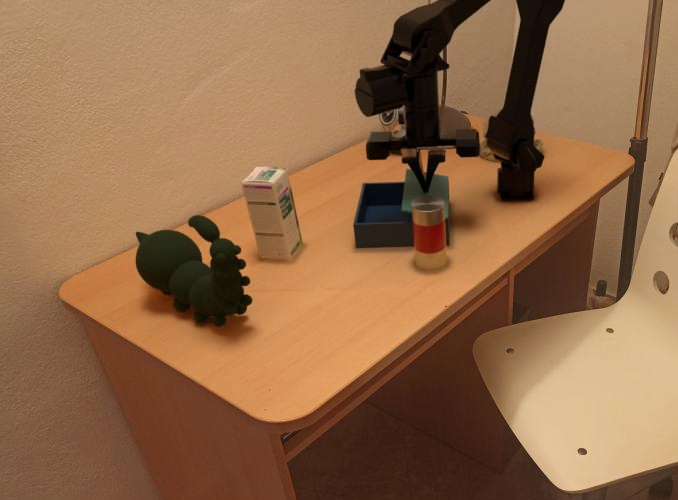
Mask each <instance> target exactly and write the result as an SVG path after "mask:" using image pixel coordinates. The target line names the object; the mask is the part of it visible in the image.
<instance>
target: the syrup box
mask: <svg viewBox="0 0 678 500" xmlns="http://www.w3.org/2000/svg"><path fill="white" fill-rule="evenodd" d="M240 184H241V188H242V192H243V195H244V199H245V203H246V207H247V211H248V216H249V219H250V223H251V227H252V230H253V234H254V238H255V242H256V247H257V250H258V253H259V257H260V259H261V260H264V259H274V260H275V259H277V260H287V261H291V260H292V259H293V257H294V256H295V255H296V254H297V253H298V251H299V250H300V248H301V247H302V246H303V244H304V242H303V238H302V232H301V228H300V224H299V218H298V213H297V209H296V204H295V200H294V199H295V198H294V194H293V189H292V185H291V180H290V175H289V170H288V168H286V167H279V166H255V167H254V170H253V171H251V172H250V173H249V174H248V175H247V176H246V177H245V178H244V179H243V180H242V181H240Z"/></svg>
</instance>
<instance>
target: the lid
mask: <svg viewBox="0 0 678 500" xmlns="http://www.w3.org/2000/svg"><path fill="white" fill-rule="evenodd" d="M424 176H425V181H426V171H424ZM448 181H449V176H448V175H444V174H443V175H442V174H437V173H434V175H433V178H432V181H431V184H430V188H429V191H428V192H427V193H424V192H423V190H422V188H421V186H420V184H419V182H418V180H417V178H416V176H415V174H414V173H413V171H412V170H411V168H406V170H405V176H404V182H405V184H404V192H403V201H402V209H401V211H402V212H408V213H412V208H411V204H412V202H413V201H414V200H415V199H417V198H420V197H425V196H434V197H438V198H441V199H442V200H443V201H444V203H445V219H447V220H448Z"/></svg>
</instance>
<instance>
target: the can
mask: <svg viewBox="0 0 678 500" xmlns="http://www.w3.org/2000/svg"><path fill="white" fill-rule="evenodd" d="M411 208H412V224H413V238H414V247H413V248H414V249H413V250H414V262H415V265H416V267H418V268H419V269H421V270H425V271H435V270H438V269H439V270H440V269H441V268H443V267H445V266H446V264H447V261H448V260H447V259H448V257H447V246H446V226H445V203H444V201H443V200H442V199H441V198H438V197H434V196H425V197H420V198H417V199H415V200H414V201H413V202H412V204H411Z"/></svg>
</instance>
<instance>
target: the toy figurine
mask: <svg viewBox="0 0 678 500" xmlns="http://www.w3.org/2000/svg"><path fill="white" fill-rule="evenodd" d="M187 225H188V227H190V228H193V229H194V230H195V232H196V233H197V234H198V235H199V236H200V237H201V238H202V240H204V241H206V242H208V243H211V244H210V246H209V255H210V257H211V259H210V261H209V265H208V264H206V263H205V262H203V261H204V260H203V255H202V251H201V250H200V247H199V246H198V244H197V243H196V242H195V241H194V240H193V239H192V238H191V237H189V236H188V235H186V234H185V233H184V232H181V231H177V230H173V229H160V230H156V231H153V232H152V233H150V234H149V233H146V232H142V231H135V236H136V239H137V241H138V243H139V245H138V247H137V250H136V253H135V268H136V270H137V272H138V275H139V277H140V278H141V279H142V280H143V281H144V282H145V283H146V284H147V285H148V286H149V287H151V288H153V289H155V290H157V291H159V292H161V293H162V294H163V295H165V296H173V297H174V298H173V301H172V307H173V308H174V309H175V311H176V312H179V313H186V312H187V311H189V310H190V308H192V309H193V311H194V313H193V314H192V319H193V321H194V322H195V323H196V324H198V325H201V324H205V323H206V322H207V321H209V320H208V319H209V317H211V324H212V325H213V326H214V327H216V328H222V327H224V326H226V322H227V317H229V316H234V315H235V314H236V315H237V316H242V315H244V314H246V312H247V310H248V307H249V306H250V305H252V304H253V297H252V296H251V295H249V293H246V294H245V289H244V287H247V286H249V285H250V284H251V278H250V277H249V276H248V275H243V274H242V272H241V271H242V270H244V269H246V267H247V261H246V260H244V258H239V257H238V255H240V254H241V253H242V247H241V246H240V245H239V244H235V243H234V242H233V241H232V240H231V239H228V238H225V237H221V232H220V229H219V226H218V225H217V224H216V223H215V222H214V221H213V220H212V219H210V218H208V217H207V216H205V215H201V214H195V215H192V216H191V217H189V219H188V221H187Z"/></svg>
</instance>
